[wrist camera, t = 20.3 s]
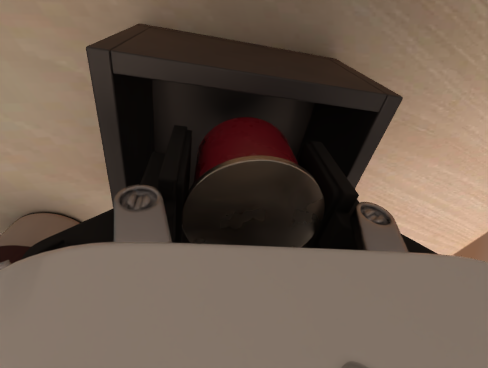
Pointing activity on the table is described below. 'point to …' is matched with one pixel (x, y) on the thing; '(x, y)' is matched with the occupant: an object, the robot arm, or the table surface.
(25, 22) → the table surface
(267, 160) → the coffee pod
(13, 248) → the coffee cup
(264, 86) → the open dark brown box
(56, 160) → the table surface
